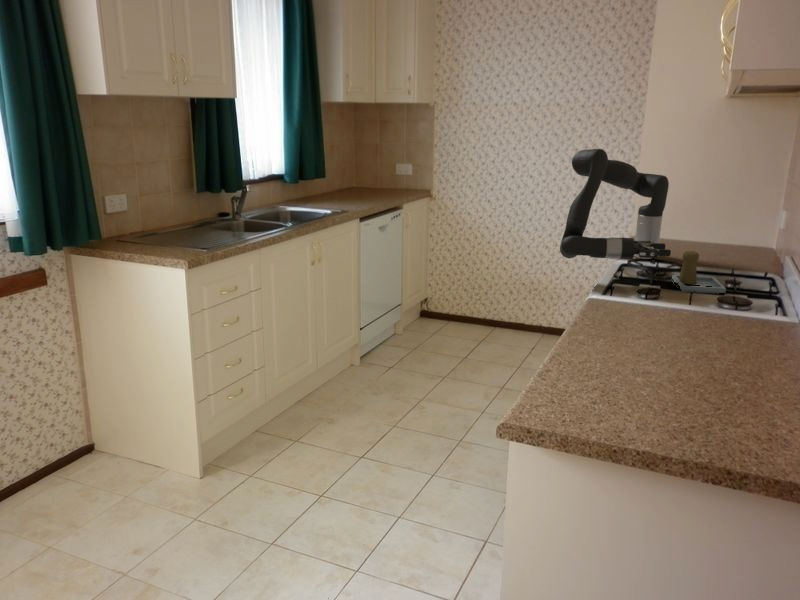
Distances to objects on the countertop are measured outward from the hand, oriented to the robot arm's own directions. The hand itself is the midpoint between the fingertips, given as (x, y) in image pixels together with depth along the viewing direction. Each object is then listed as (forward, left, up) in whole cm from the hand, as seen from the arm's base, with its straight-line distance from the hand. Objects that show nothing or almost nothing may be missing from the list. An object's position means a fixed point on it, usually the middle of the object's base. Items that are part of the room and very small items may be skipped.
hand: (667, 249), depth 226 cm
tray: (+1, +11, -13) cm, 17 cm away
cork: (-2, +8, -12) cm, 15 cm away
